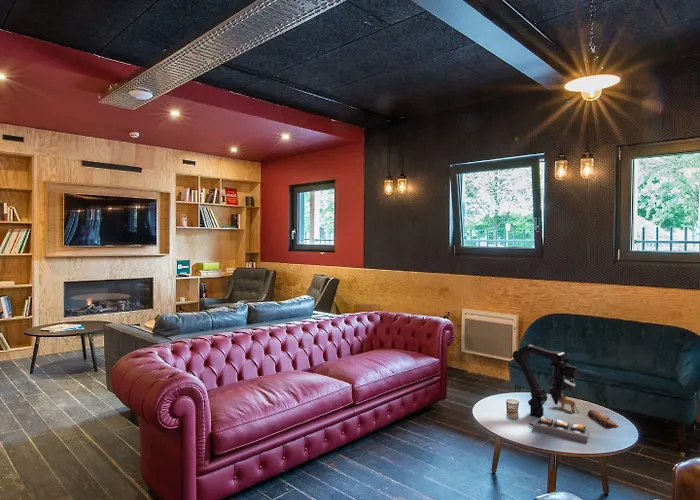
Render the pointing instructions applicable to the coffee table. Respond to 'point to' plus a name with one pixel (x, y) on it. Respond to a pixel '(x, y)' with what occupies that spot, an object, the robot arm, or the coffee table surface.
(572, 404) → the lion figurine
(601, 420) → the sunglasses case
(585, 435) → the power strip
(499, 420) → the coffee table surface
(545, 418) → the block
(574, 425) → the rocker right
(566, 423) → the rocker middle
